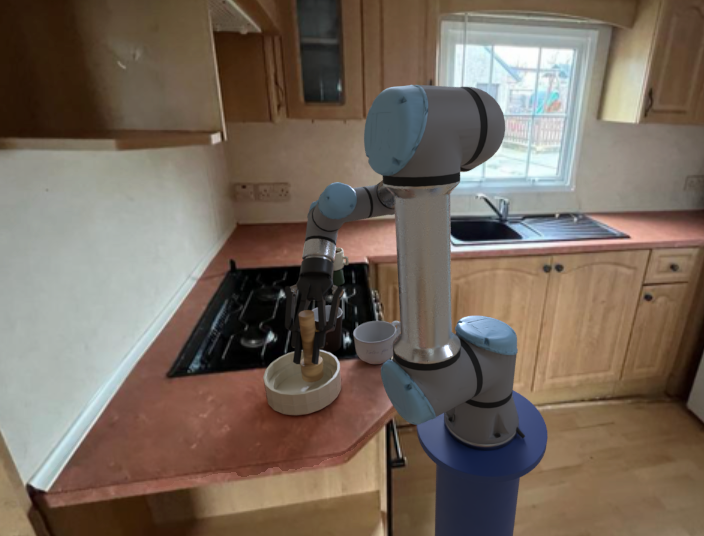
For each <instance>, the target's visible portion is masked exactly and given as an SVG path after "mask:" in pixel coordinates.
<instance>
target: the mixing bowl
mask: <svg viewBox="0 0 704 536" xmlns="http://www.w3.org/2000/svg"><path fill="white" fill-rule="evenodd" d="M319 356H320V357H322V361H323V371H324V375H323V377H322V378H321V379H320V380H318V381H316V382H306V381H304V380H303V379H302V372H301V364H295V363H294V362H293V358H294V351H291V352H288V353H285V354H283V355H281V356H279V357H278V358H276V359H274V360H273V361H272V362H271V363H270V364H269V365H268V366H267V368H266V369H265V370H264V373H263V376H262V380H263V386H264V392H265V397H266V401H267V405H269V407H270V408H271V409H272V410H273V411H275V412H278V413H280V414H282V415H288V416H302V415H309V414H312V413H315V412H318V411H320V410H322V409H324V408H326V407H327V406H329V405H331V404H332V403H333V402H334V401H335V400H336V399H337V398H338V396H339V395H340V392H341V390H342V374H341V372H342V371H341V363H340V361H339V359H338V357H337V356H336V355H334V354H333V353H330V352H326V351H323V350H320V352H319ZM303 358H304V357H303V349H302V353H301V360H302V359H303ZM300 362H301V361H300Z"/></svg>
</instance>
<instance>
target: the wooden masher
mask: <svg viewBox="0 0 704 536" xmlns="http://www.w3.org/2000/svg"><path fill="white" fill-rule="evenodd" d="M299 323H300V332H301V340H302V350H303V357H304V358H303V359H302V360H301V362H300V364H301V372H302V379H303V380H304V381H306V382H316V381H318V380H320V379H321V378H322V377H323V375H324V371H323V361H322V357H320V356H319V361H318V365H315V364H313V363H312V354H313V345H314V337H315V332H316V328H315V318H314V312H313V311H312V309H308V310H304V311H301V312H300V313H299Z"/></svg>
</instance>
